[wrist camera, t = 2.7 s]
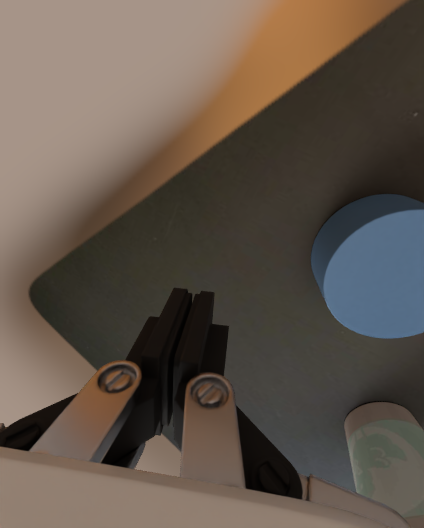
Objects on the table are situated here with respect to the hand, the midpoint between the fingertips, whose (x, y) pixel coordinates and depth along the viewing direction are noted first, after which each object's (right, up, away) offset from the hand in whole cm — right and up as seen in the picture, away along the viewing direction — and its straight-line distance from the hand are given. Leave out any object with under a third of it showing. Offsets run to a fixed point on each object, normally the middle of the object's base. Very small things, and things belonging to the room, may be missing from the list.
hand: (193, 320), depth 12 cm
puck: (+12, +3, +7) cm, 14 cm away
